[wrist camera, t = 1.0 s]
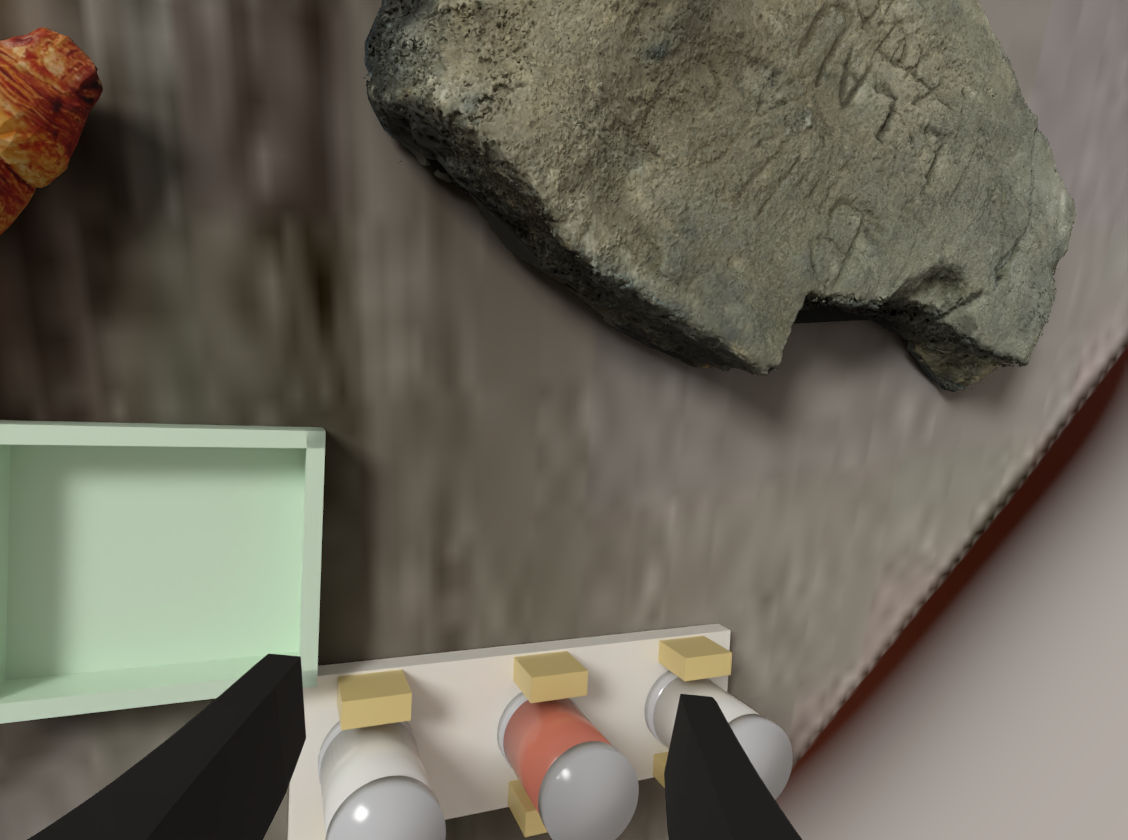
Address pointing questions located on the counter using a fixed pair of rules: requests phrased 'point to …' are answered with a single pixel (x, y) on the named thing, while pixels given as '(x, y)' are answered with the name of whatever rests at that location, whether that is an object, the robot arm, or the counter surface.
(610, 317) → the stone
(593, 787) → the red fuse
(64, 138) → the croissant
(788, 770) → the grey fuse
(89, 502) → the tray
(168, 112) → the counter surface
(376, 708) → the fuse block
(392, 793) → the grey fuse
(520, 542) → the counter surface
